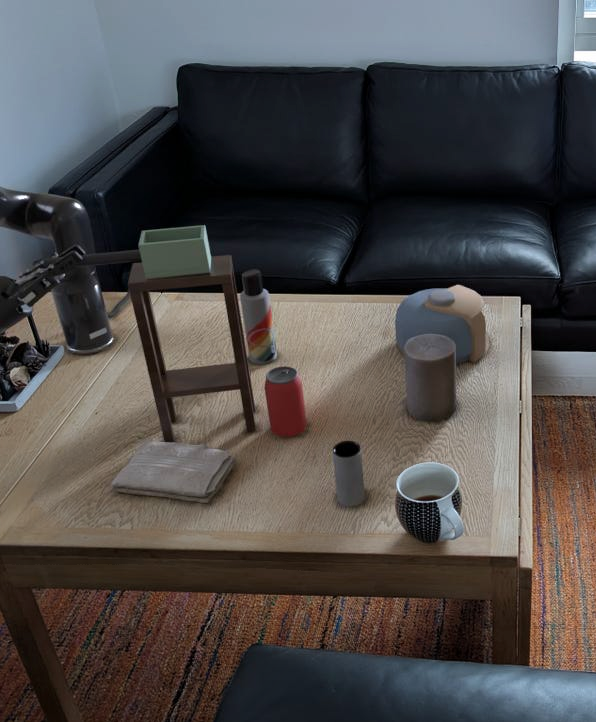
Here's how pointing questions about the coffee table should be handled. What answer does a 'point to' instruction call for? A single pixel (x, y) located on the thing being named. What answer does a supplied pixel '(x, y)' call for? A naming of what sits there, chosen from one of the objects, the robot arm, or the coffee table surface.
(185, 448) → the washcloth
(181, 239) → the green box scoop
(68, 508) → the coffee table surface
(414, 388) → the pillar candle
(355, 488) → the grey black cylinder
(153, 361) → the stand
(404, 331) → the alarm clock
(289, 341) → the coffee table surface
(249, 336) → the lotion bottle
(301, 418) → the beer can
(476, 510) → the coffee table surface
